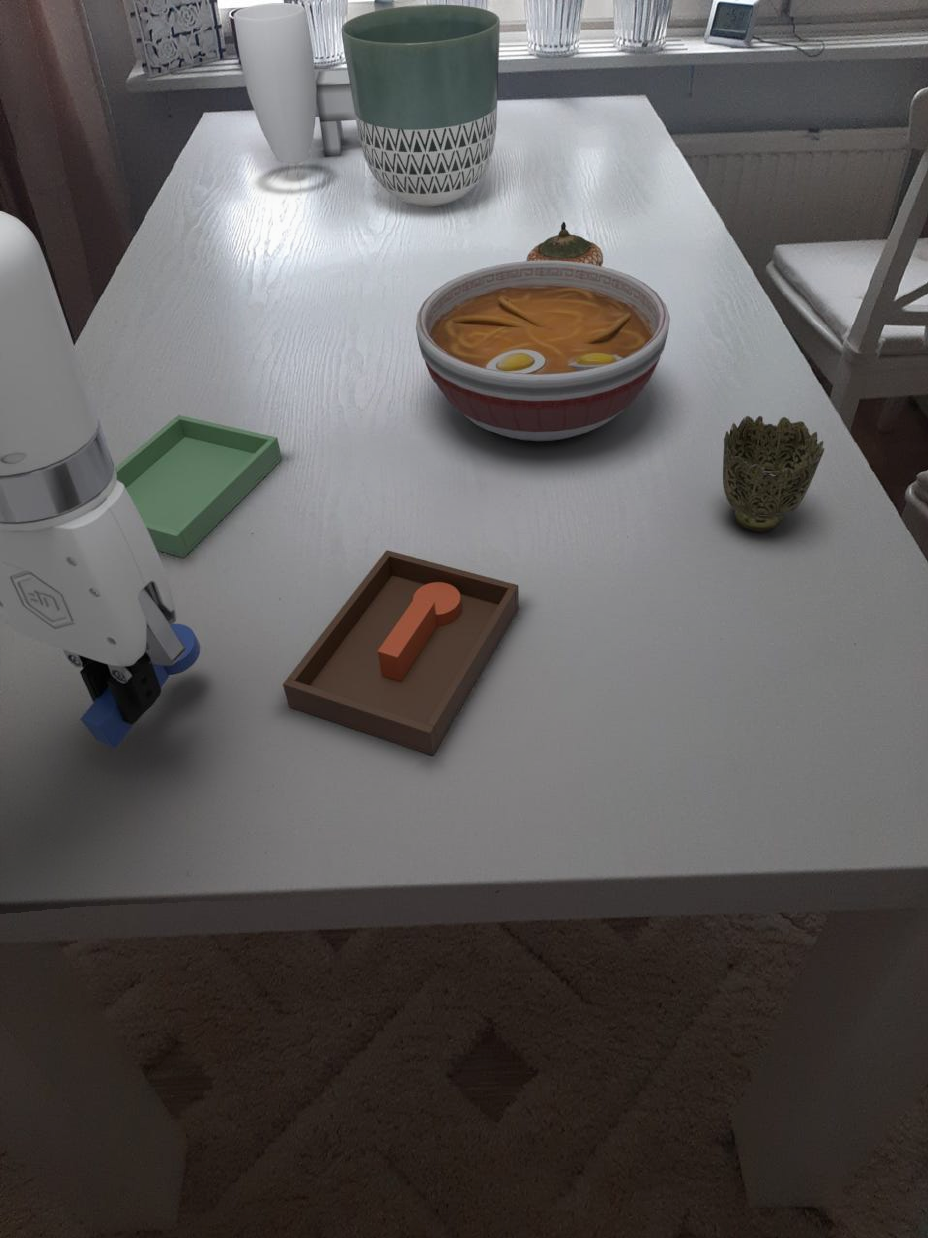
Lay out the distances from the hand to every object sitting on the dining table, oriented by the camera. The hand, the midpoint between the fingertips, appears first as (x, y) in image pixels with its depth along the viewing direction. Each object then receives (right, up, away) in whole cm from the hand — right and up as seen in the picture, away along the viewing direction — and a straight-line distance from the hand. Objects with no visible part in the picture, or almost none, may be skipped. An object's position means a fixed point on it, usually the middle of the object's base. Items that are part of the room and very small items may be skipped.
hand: (130, 702), depth 61 cm
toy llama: (+6, +81, +88) cm, 120 cm away
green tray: (-3, +17, +23) cm, 29 cm away
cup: (-3, +71, +79) cm, 106 cm away
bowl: (+29, +26, +30) cm, 50 cm away
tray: (+18, +3, +7) cm, 19 cm away
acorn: (+33, +40, +45) cm, 69 cm away
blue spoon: (+1, +1, +1) cm, 2 cm away
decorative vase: (+46, +13, +17) cm, 51 cm away
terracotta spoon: (+19, +4, +8) cm, 21 cm away
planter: (+17, +65, +71) cm, 97 cm away
